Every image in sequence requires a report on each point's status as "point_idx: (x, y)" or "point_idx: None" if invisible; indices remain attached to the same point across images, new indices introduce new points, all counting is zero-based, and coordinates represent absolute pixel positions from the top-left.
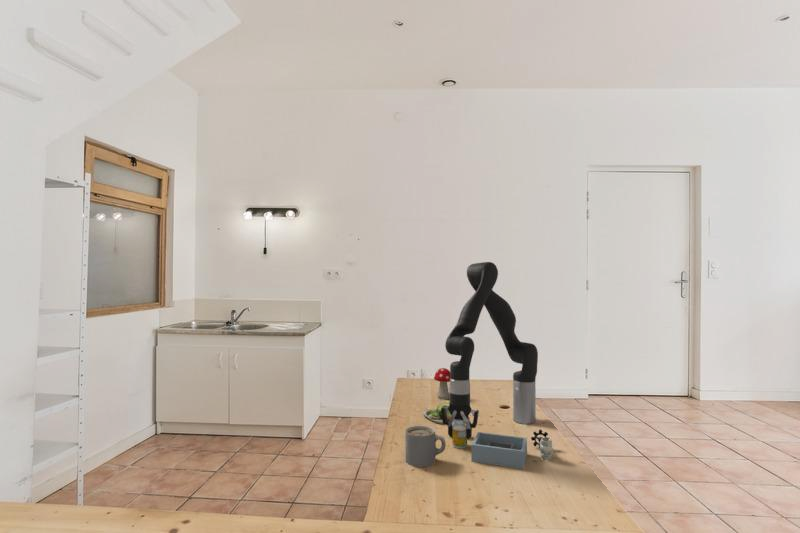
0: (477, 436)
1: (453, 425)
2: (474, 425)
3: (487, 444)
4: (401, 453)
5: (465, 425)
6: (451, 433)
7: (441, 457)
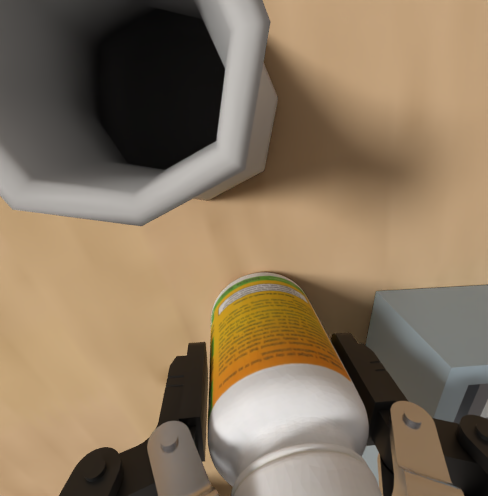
0: None
1: (225, 479)
2: (474, 493)
3: (468, 413)
4: (6, 492)
5: (359, 449)
6: (206, 401)
7: (206, 459)
